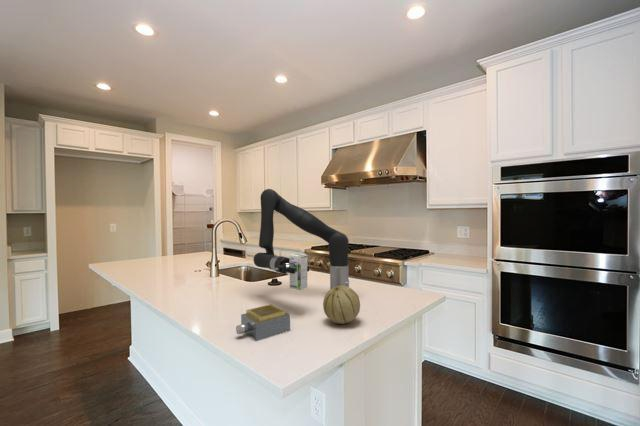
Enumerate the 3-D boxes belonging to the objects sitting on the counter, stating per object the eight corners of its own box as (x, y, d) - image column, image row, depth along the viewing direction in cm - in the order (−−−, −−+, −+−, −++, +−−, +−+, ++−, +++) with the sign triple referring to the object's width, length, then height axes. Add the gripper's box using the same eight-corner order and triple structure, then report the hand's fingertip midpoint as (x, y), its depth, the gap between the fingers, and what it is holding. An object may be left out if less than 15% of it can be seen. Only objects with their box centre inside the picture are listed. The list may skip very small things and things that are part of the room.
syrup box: (288, 288, 130) (288, 254, 129) (297, 285, 135) (297, 252, 134) (299, 290, 126) (299, 255, 126) (308, 287, 131) (307, 253, 131)
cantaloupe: (364, 319, 125) (364, 282, 125) (353, 332, 112) (353, 291, 112) (331, 314, 131) (331, 279, 131) (317, 326, 118) (316, 287, 118)
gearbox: (273, 321, 123) (273, 303, 123) (290, 330, 114) (290, 310, 114) (231, 333, 112) (230, 312, 112) (245, 344, 103) (245, 322, 103)
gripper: (267, 258, 137) (287, 263, 124) (294, 254, 146) (315, 259, 133) (267, 274, 137) (287, 281, 124) (294, 270, 146) (315, 276, 133)
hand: (301, 270), depth 129 cm, fingers closed on syrup box, 6 cm apart
